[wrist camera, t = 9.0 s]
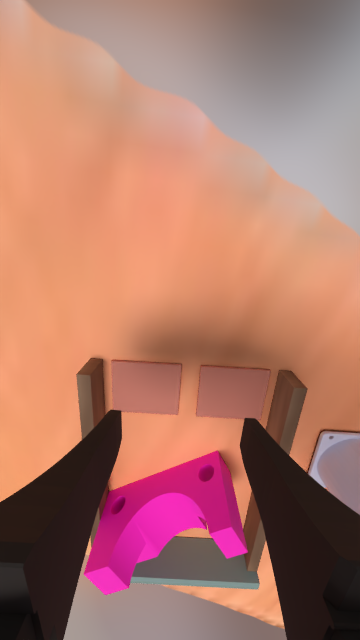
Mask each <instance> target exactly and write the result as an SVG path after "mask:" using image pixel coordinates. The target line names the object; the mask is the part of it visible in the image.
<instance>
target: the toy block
mask: <svg viewBox="0 0 360 640" xmlns="http://www.w3.org/2000/svg"><path fill="white" fill-rule="evenodd" d="M206 522H207V525H208V529H209V534H210V535H211V537H212V538H213V540H214V541H215V542H216V544H217V545H218V547H219V548H220V550H221V551H222V552H223V554H224V555H225V557H226V558H227V559H228V558H231V557H234V556H238V555H241V554H244V553H248V550H247V546H246V541H245V537H244V532H243V528H242V523H241V519H240V514H239V510H238V505H237V501H236V496H235V492H234V487H233V483H232V478H231V474H230V471H229V469H228V468H227V466H226V464H225V463H224V461H223V459H222V457H221V456H220V454H219V452H218V451H215V452H212V453H210V454H207V455H204V456H202V457H199V458H197V459H194V460H191V461H189V462H186V463H183V464H181V465H178V466H175V467H173V468H170V469H167V470H165V471H162V472H160V473H157V474H154V475H152V476H149V477H146V478H144V479H141V480H138V481H136V482H133V483H130V484H128V485H125V486H122V487H120V488H117V489H115V490H112V491H109V494H108V497H107V500H106V503H105V507H104V510H103V513H102V516H101V520H100V523H99V526H98V529H97V533H96V536H95V539H94V542H93V546H92V549H91V552H90V555H89V559H88V562H87V565H86V568H85V572H84V575H85V576H86V577H87V578H88V579H89V580H90V581H92V583H93V584H94V585H95V586H96V587H98V588H99V589H100V590H101V591H102V592H103V593H104V594H105V595H107V594H111V593H114V592H117V591H120V590H124V589H127V588H129V585H130V581H131V577H132V574H133V571H134V568H135V566H136V563H139V562H142V561H146V560H149V559H152V558H155V557H157V556H158V555H159V553H160V552H161V550H162V549H163V547H164V546H165V545H166V544H167V543H168V542H169V541H170V540H171V539H172V538H173V537H174V536H175V535H177V534H178V533H180V532H182V531H184V530H186V529H190V528H203V529H206V530H207V525H206Z"/></svg>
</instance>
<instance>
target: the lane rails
mask: <svg viewBox="0 0 360 640" xmlns="http://www.w3.org/2000/svg"><path fill="white" fill-rule="evenodd" d="M77 385H78V397H79V409H80V420H81V432H82V440H83V439H84V438H85V437H86V436H87V435H88V433H89V432H90V431H91V430H92V429H93V428H94V427H95V426H96V425H97V424H98V423H99V422H100V421H101V420H102V419H103V417H104V416H105V403H104V381H103V359H90V360H89V361H88V362H87V363H86V364H85V365H84V367H83V368H82V369H81V370H80V371H79V372H78V373H77ZM306 392H307V388H306V386H305V385H304V384H303V383H302V382H301V381H300V380H299V379H298V378H297V377H296V376H295V375H294V374H293V373H292V372H291V371H283V370H279V374H278V378H277V383H276V387H275V391H274V396H273V400H272V405H271V409H270V414H269V418H268V422H267V427H266V431H267V432H268V433H269V435H270V436H271V437H272V438H273V439H274V440H275V441H276V442H277V443H278V445H279V446H280V447H281V448H282V449H283V450H284V451H285V452H286V453H287V454H288V455H289V454H290V450H291V447H292V443H293V439H294V436H295V432H296V428H297V425H298V421H299V418H300V414H301V410H302V407H303V403H304V400H305V396H306ZM108 494H109V491H108V483H107V486H106V488H105V491H104V494H103V497H102V499H101V502H100V505H99V508H98V511H97V514H96V517H95V521H94V524H93V528H92V531H91V547H92V546H93V542H94V539H95V536H96V533H97V529H98V526H99V523H100V520H101V516H102V513H103V510H104V507H105V503H106V500H107V497H108ZM243 532H244V537H245V541H246V546H247V550H248V553H244V558H245V563H246V567H247V571H253V572H257V569H258V566H259V562H260V559H261V555H262V551H263V548H264V544H265V541H266V537H265V533H264V529H263V524H262V521H261V517H260V514H259V510H258V507H257V504H256V501H255V498H254V495H253V492H252V493H251V498H250V502H249V507H248V511H247V516H246V520H245V525H244V529H243Z"/></svg>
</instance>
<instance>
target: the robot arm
mask: <svg viewBox="0 0 360 640" xmlns="http://www.w3.org/2000/svg"><path fill="white" fill-rule="evenodd" d="M121 440H122V421H121V410H110V411H109V412H108V413H107V414H106V415H105V416H104V417H103V419H102V420H101V421H100V422H99V423H98V424H97V425H96V426H95V427H94V428H93V429H92V430H91V431H90V432H89V433H88V435H87V436H86V437H85V438H84V439H83V440H82V441H80V442H79V443H78V444H77V445H76V446H75V447H74V448H73V449H72V450H71V451H70V452H69V453H68V454H66V455H65V456H64V457H63V458H62V459H61V460H59V461H58V462H57V463H56V464H55V465H53V466H52V467H51V468H50V469H48V470H47V471H46V472H44V473H43V474H42V475H40V476H39V477H38V478H36V479H35V480H34V481H32V482H31V483H29V484H28V485H26V486H25V487H23V488H22V489H20V490H19V491H17V492H16V493H14V494H13V495H11V496H10V497H8V498H6V499H5V500H3V501H2V502H0V640H63V638H64V634H65V630H66V626H67V622H68V618H69V614H70V610H71V606H72V602H73V598H74V594H75V590H76V587H77V583H78V579H79V575H80V571H81V567H82V564H83V560H84V557H85V553H86V549H87V546H88V542H89V538H90V535H91V531H92V528H93V524H94V521H95V517H96V514H97V511H98V508H99V505H100V502H101V499H102V497H103V494H104V491H105V488H106V486H107V483H108V480H109V478H110V475H111V472H112V470H113V467H114V464H115V461H116V459H117V455H118V452H119V448H120V444H121ZM240 449H241V454H242V459H243V463H244V467H245V470H246V473H247V477H248V480H249V483H250V486H251V489H252V492H253V495H254V498H255V501H256V504H257V507H258V510H259V514H260V517H261V521H262V524H263V529H264V533H265V537H266V541H267V545H268V550H269V554H270V559H271V563H272V567H273V572H274V577H275V581H276V586H277V591H278V596H279V601H280V606H281V611H282V616H283V621H284V626H285V632H286V637H287V640H360V433H349V432H332V431H323V432H322V433H321V434H320V437H319V440H318V443H317V446H316V450H315V453H314V456H313V459H312V462H311V465H310V468H309V471H308V473H306V472H305V471H304V470H303V469H302V468H301V467H300V466H299V465H298V464H297V463H296V462H295V461H294V460H293V459H292V458H291V457H290V456H289V455H288V454H287V453H286V452H285V451H284V450H283V449H282V448H281V447H280V446H279V445H278V443H277V442H276V441H275V440H274V439H273V438H272V437H271V436H270V435H269V433H268V432H267V431H266V430H265V429H264V428H263V426H262V425H261V424H260V423H259V422H258V421H257V420H256V419H255V418H245V420H244V426H243V431H242V436H241V442H240ZM324 487H325V488H327V489H328V491H327V490H326V489H325V488H324Z"/></svg>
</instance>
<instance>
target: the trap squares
mask: <svg viewBox="0 0 360 640" xmlns="http://www.w3.org/2000/svg"><path fill="white" fill-rule="evenodd" d="M111 363H112V394H113V410H121V412H135V413H151V414H168V415H178V405H179V391H180V378H181V364H171V363H155V362H139V361H123V360H112V361H111ZM270 372H271V371H270V370H267V369H251V368H235V367H219V366H203V365H201V371H200V380H199V390H198V400H197V409H196V416H201V417H218V418H235V419H245V418H255V419H256V420H260V419H261V414H262V410H263V405H264V400H265V396H266V391H267V386H268V382H269V377H270Z"/></svg>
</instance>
